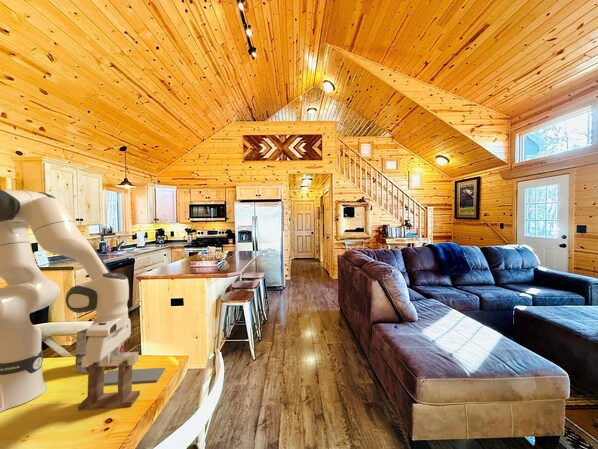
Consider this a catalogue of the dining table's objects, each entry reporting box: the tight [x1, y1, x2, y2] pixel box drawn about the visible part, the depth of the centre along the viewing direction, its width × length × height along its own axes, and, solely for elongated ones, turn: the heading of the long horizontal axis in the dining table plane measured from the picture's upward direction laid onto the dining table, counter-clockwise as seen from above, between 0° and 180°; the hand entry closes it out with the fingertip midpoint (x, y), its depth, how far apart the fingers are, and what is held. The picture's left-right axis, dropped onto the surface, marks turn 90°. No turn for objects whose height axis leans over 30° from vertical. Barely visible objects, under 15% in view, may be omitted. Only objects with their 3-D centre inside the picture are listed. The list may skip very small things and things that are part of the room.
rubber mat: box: [104, 367, 166, 386], centre depth 103 cm, size 22×9×1 cm, turn 99°
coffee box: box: [74, 328, 89, 375], centre depth 110 cm, size 9×6×16 cm
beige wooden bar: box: [82, 351, 139, 367], centre depth 89 cm, size 16×3×3 cm, turn 99°
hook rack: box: [77, 363, 141, 411], centre depth 89 cm, size 16×6×14 cm, turn 99°
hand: (110, 361), depth 89 cm, fingers closed on beige wooden bar, 3 cm apart
